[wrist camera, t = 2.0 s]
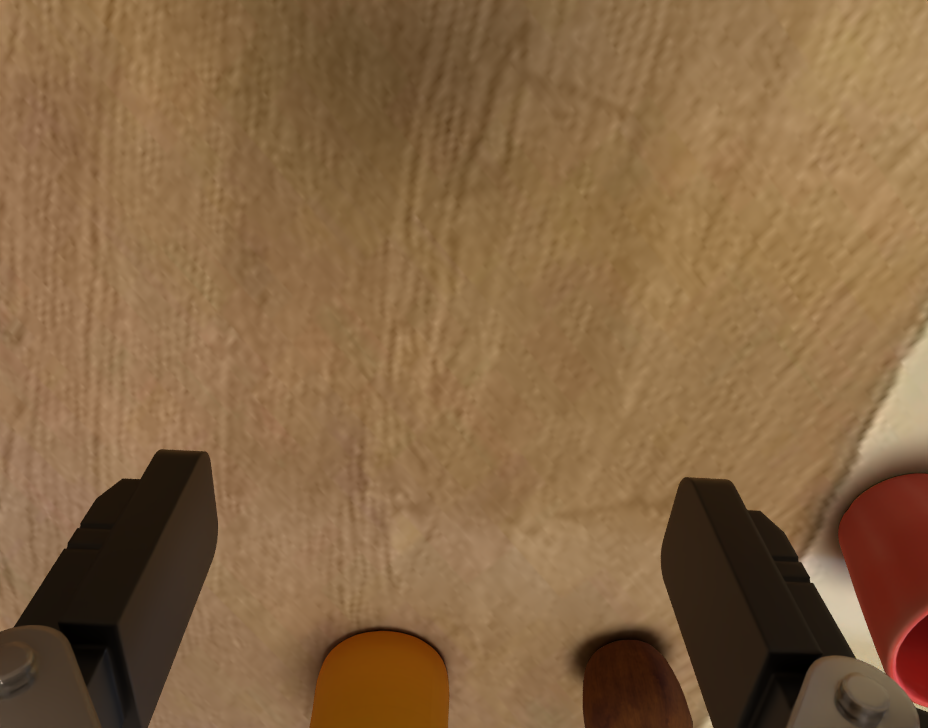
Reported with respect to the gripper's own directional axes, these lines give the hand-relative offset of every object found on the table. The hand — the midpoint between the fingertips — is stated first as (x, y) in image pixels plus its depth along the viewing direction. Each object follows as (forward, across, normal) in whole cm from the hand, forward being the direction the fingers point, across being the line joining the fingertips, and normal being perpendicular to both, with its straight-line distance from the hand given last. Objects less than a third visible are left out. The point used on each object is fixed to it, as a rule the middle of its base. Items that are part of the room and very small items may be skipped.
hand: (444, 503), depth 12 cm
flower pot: (+25, -30, +21) cm, 44 cm away
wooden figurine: (+25, -15, +34) cm, 45 cm away
